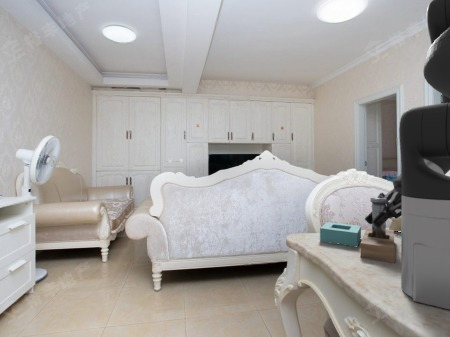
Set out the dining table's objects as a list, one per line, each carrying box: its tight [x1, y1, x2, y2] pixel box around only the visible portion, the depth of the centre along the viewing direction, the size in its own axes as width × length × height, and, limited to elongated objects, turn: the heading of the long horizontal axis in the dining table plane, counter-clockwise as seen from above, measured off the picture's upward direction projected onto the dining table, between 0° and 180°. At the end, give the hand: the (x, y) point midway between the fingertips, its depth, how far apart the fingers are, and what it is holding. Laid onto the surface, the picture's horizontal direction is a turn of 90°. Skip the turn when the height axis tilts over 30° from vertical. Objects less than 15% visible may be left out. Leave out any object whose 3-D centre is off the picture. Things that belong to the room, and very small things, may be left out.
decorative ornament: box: [388, 216, 401, 231], centre depth 86 cm, size 4×8×5 cm, turn 119°
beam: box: [360, 226, 396, 264], centre depth 68 cm, size 20×7×4 cm, turn 146°
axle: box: [369, 197, 388, 239], centre depth 68 cm, size 4×4×12 cm
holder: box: [319, 221, 362, 247], centre depth 76 cm, size 10×10×4 cm
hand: (371, 223), depth 68 cm, fingers closed on axle, 3 cm apart
